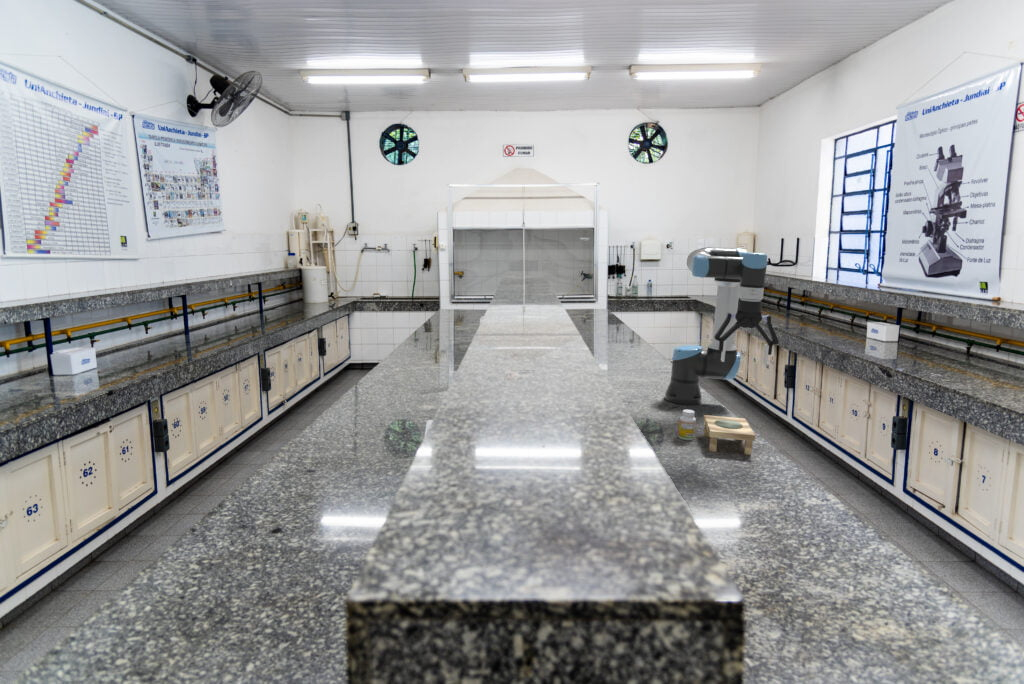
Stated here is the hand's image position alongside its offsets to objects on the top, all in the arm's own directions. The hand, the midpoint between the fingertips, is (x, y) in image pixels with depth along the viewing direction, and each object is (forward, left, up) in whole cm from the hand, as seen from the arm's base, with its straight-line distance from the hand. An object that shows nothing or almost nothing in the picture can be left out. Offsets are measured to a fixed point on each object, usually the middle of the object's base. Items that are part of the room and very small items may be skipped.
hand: (743, 362), depth 208 cm
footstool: (+4, -3, -28) cm, 28 cm away
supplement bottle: (+1, -16, -28) cm, 33 cm away
